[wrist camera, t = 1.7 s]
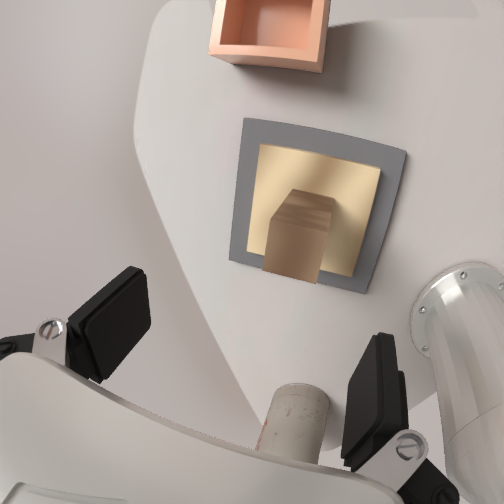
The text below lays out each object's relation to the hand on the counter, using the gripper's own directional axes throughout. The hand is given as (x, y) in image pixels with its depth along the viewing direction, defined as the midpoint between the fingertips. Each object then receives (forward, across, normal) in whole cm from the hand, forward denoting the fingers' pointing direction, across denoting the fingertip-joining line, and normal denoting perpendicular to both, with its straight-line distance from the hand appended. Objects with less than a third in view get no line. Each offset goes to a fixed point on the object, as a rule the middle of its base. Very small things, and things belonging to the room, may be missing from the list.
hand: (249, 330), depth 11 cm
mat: (+18, -1, 0) cm, 18 cm away
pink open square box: (+18, +4, -16) cm, 24 cm away
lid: (+17, -1, 0) cm, 17 cm away
